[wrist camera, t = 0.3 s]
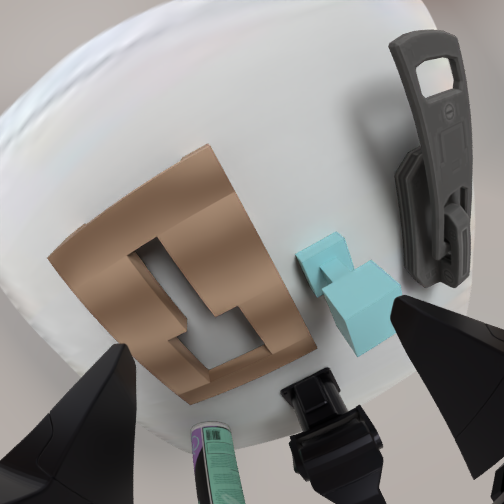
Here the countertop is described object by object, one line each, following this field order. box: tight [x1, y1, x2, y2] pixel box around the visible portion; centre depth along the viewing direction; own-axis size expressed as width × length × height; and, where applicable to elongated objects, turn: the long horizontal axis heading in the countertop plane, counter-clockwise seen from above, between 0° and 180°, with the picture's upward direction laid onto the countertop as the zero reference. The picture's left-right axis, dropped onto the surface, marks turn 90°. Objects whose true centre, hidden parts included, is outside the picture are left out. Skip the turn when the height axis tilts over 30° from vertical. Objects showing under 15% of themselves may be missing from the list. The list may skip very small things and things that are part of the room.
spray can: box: [191, 422, 245, 504], centre depth 23 cm, size 6×6×20 cm
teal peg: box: [295, 232, 402, 357], centre depth 20 cm, size 4×4×9 cm
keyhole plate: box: [47, 144, 317, 405], centre depth 20 cm, size 18×13×4 cm
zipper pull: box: [388, 30, 473, 288], centre depth 19 cm, size 9×7×25 cm
